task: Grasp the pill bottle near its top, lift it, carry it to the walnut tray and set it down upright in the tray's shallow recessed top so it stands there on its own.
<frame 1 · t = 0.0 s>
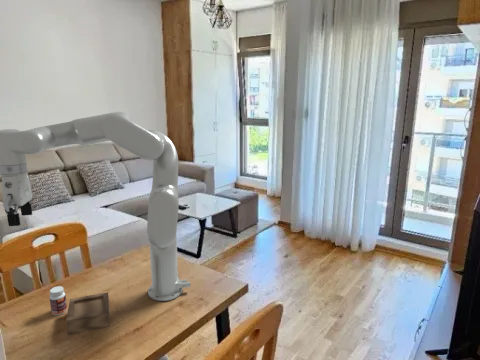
hand: (21, 220, 113), 31 cm above the table, fingers open, 9 cm apart
walnut tray: (90, 318, 113), on the table
pill bottle: (59, 311, 117), on the table
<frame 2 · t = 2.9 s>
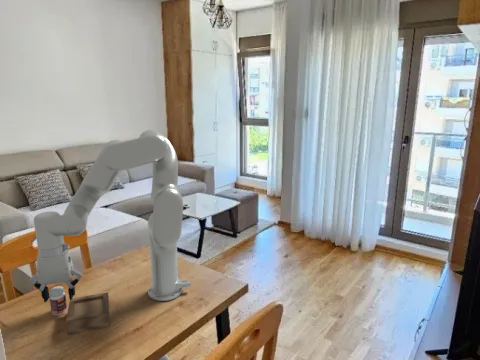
hand: (59, 298, 116), 5 cm above the table, fingers open, 7 cm apart
nothing on the table moved.
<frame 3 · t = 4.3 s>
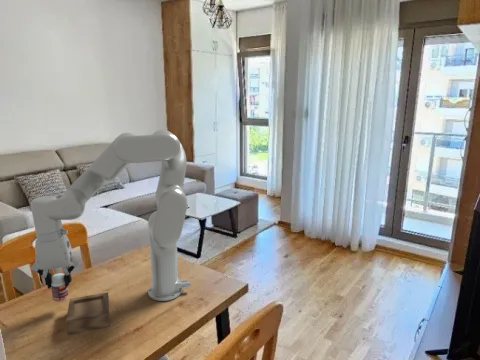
hand: (59, 284, 115), 10 cm above the table, fingers closed on pill bottle, 4 cm apart
pill bottle: (61, 299, 116), point 4 cm above the table, touching gripper
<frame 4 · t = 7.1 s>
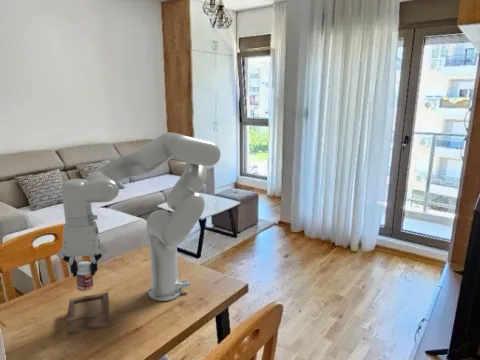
hand: (84, 273, 109), 17 cm above the table, fingers closed on pill bottle, 4 cm apart
pill bottle: (85, 288, 111), point 11 cm above the table, touching gripper
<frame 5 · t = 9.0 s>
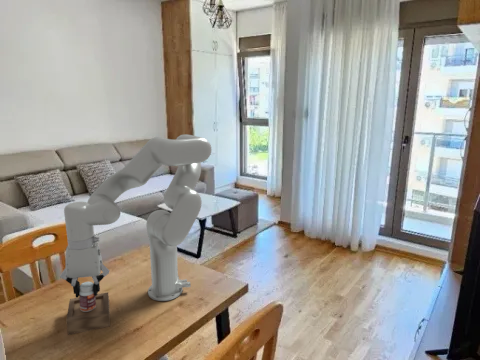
hand: (87, 293, 111), 9 cm above the table, fingers closed on pill bottle, 4 cm apart
pill bottle: (88, 308, 112), point 4 cm above the table, touching gripper, walnut tray
when the fingers open (9 cm above the table, at t = 10.0 s): pill bottle stays where it is, resting on walnut tray.
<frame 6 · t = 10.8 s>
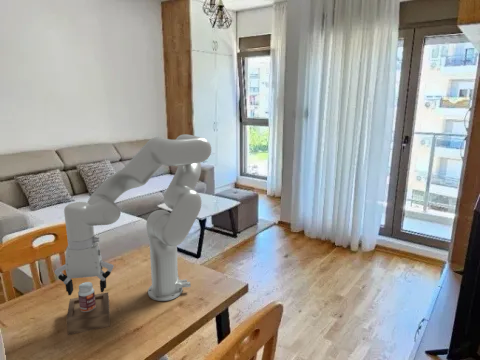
hand: (87, 291, 111), 10 cm above the table, fingers open, 9 cm apart
pill bottle: (88, 308, 112), point 4 cm above the table, touching walnut tray
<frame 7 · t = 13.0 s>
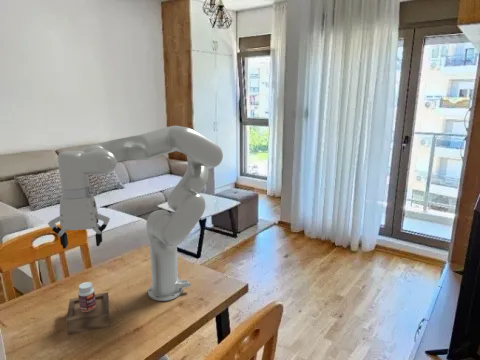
hand: (82, 245, 107), 26 cm above the table, fingers open, 9 cm apart
nothing on the table moved.
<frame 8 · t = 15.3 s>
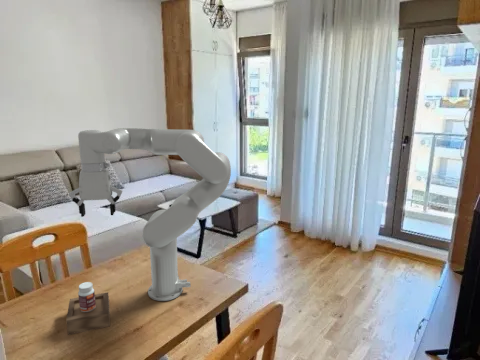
hand: (98, 214, 122), 30 cm above the table, fingers open, 9 cm apart
nothing on the table moved.
at the end: pill bottle 0.2 cm from the walnut tray (horizontally); pill bottle point 3.8 cm above the table; pill bottle tilted 0° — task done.
